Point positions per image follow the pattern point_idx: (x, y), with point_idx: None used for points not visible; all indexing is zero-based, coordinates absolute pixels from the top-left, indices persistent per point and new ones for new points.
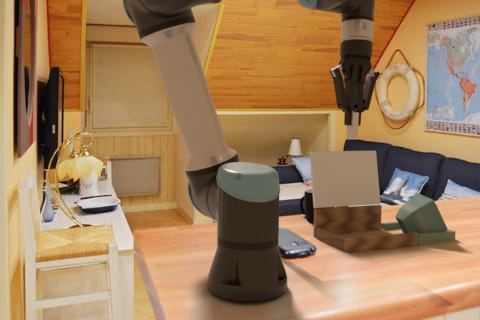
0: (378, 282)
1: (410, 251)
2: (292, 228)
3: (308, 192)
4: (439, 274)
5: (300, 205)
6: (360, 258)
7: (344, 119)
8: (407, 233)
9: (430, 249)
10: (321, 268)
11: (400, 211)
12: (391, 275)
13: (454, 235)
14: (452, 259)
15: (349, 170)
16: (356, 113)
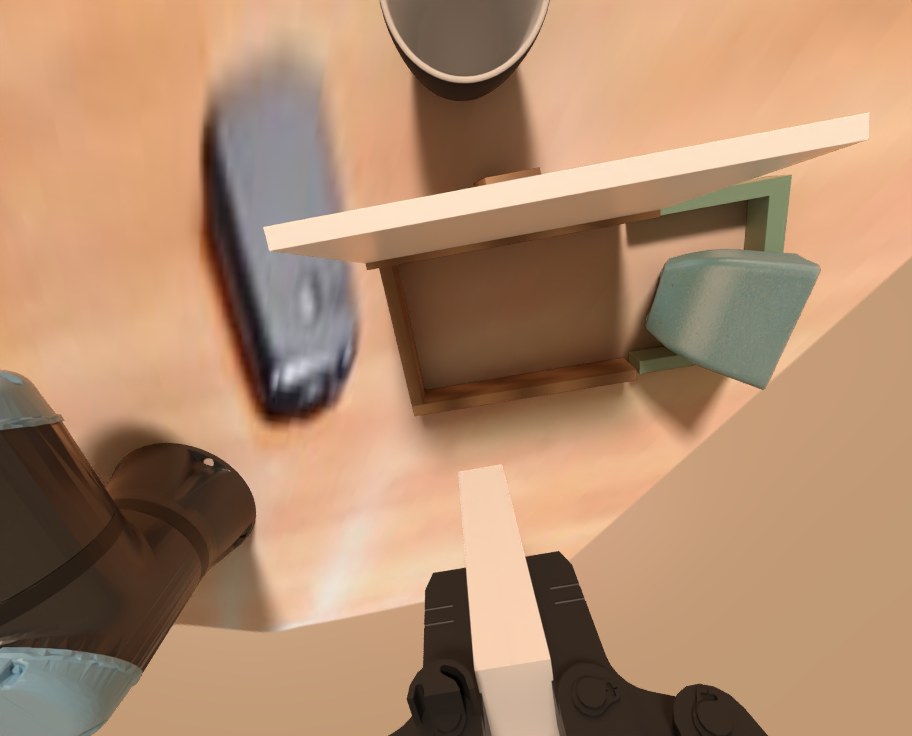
0: (401, 557)
1: (570, 411)
2: (341, 81)
3: (386, 21)
4: (524, 539)
5: None
6: (429, 442)
7: (425, 622)
8: (605, 380)
9: (628, 402)
10: (327, 487)
11: (685, 281)
12: (439, 534)
13: None
14: (615, 473)
15: (556, 213)
16: (528, 733)
